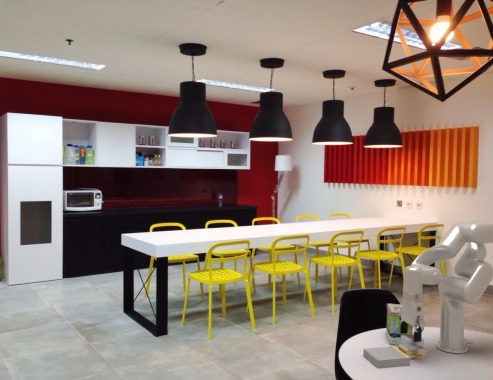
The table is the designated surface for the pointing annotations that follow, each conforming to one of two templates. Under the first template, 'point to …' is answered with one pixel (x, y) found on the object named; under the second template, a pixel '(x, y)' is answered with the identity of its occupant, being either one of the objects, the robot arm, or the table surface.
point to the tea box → (395, 324)
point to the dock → (386, 357)
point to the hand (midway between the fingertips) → (410, 337)
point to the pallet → (413, 352)
